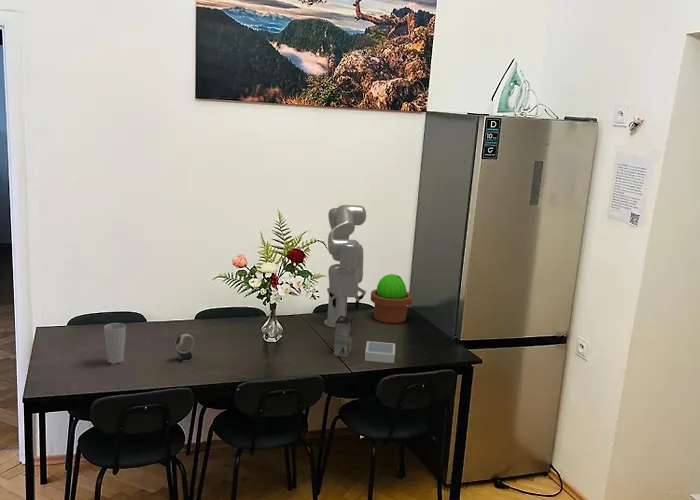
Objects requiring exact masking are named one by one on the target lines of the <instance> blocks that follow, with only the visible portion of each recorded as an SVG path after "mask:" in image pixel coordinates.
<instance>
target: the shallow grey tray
mask: <svg viewBox="0 0 700 500" xmlns="http://www.w3.org/2000/svg"><path fill="white" fill-rule="evenodd" d="M395 357H396V343H391V342H383V341H382V342H381V341H372V340H371V341H368V340H367V341H366V346H365V352H364V361H365V362H372V363H373V362H375V363H385V364H395Z"/></svg>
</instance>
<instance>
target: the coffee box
mask: <svg viewBox="0 0 700 500" xmlns="http://www.w3.org/2000/svg"><path fill="white" fill-rule="evenodd" d="M353 324H354V316H347V315H346V316H340V317H339V318H338V319H337V321H336V326H335V330H334V344H333V345H334V347H333V356H338V357H343V358H348V356H349V354H350V353H351V351H352V345H353V343H352V342H353V341H352V340H353V326H354V325H353Z"/></svg>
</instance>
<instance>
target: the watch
mask: <svg viewBox="0 0 700 500" xmlns="http://www.w3.org/2000/svg"><path fill="white" fill-rule="evenodd" d="M186 337H188V338H191V339H192V340H191V342H190V344H189V346H188V348H187V349H183V350H179V348H180V347H181V346H182V344H183V343H184V341H185V340H184V339H185V338H186ZM195 343H196V342H195V338H194V337H193V336H192V335H191V334H188V333H183V334H179V335H178V336H177V337H176V339H175V341H174V347H175V349H176V351H177V358H178V357H179V358H180V359H181V361H183V360H190V359H193V354H192V352H191V351H192V350H193V348H194V347H195ZM179 358H178V359H179ZM181 361H180V362H181Z"/></svg>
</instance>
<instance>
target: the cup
mask: <svg viewBox="0 0 700 500" xmlns="http://www.w3.org/2000/svg"><path fill="white" fill-rule="evenodd" d="M126 328H127V325H126V324H125V323H123V322H111V323H107V324H105V325H104V326H103V332H104V333H103V334H104V341H105V348H106V349H105V350H106V358H107V362H108V361H109V362H111V363H117V362H121V361H123V362H124V355H125V344H126V330H127V329H126Z"/></svg>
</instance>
